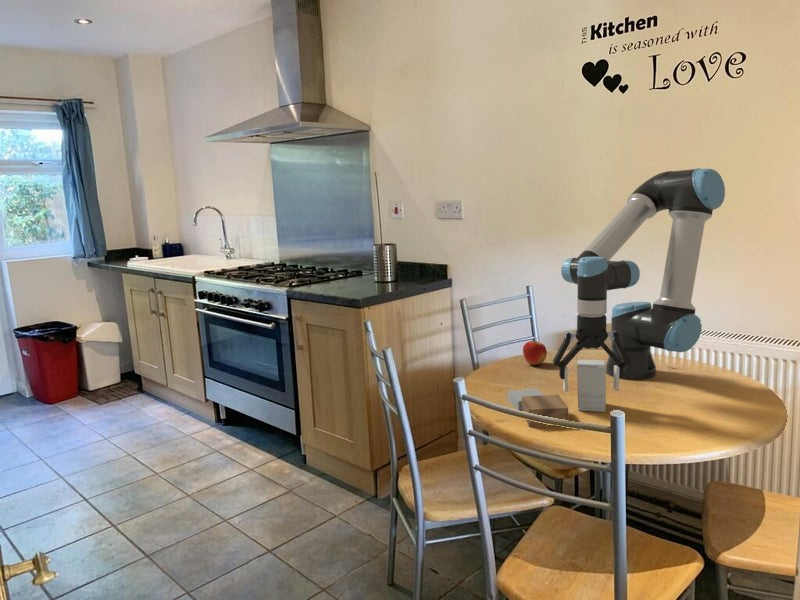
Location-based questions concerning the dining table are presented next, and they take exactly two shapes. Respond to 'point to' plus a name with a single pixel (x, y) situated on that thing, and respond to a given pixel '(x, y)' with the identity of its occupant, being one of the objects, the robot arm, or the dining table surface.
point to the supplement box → (591, 385)
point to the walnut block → (544, 407)
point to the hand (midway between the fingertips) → (590, 389)
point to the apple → (534, 352)
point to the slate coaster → (516, 396)
